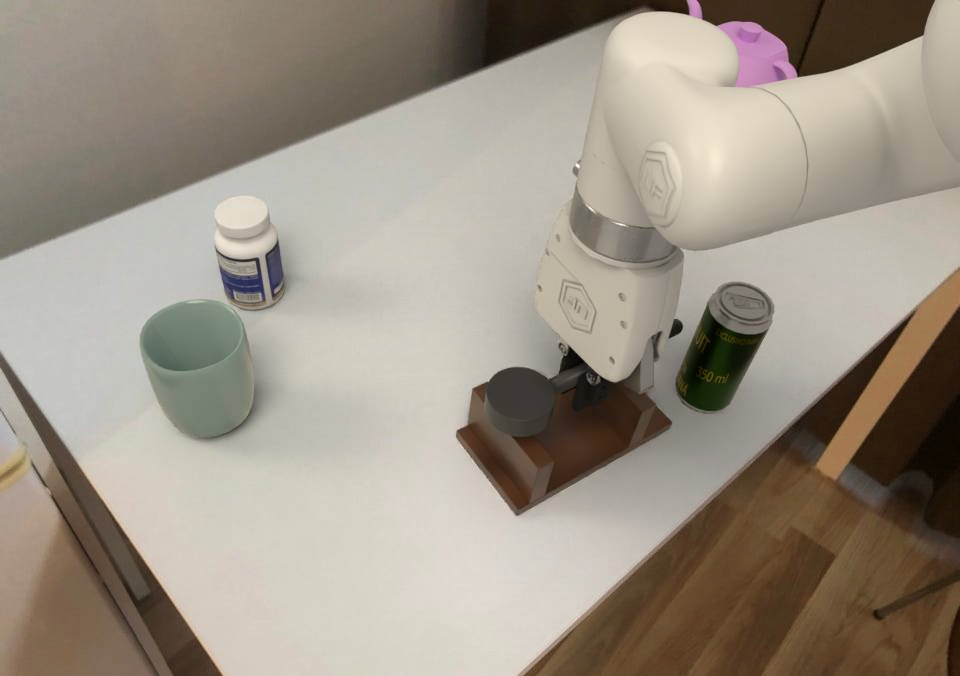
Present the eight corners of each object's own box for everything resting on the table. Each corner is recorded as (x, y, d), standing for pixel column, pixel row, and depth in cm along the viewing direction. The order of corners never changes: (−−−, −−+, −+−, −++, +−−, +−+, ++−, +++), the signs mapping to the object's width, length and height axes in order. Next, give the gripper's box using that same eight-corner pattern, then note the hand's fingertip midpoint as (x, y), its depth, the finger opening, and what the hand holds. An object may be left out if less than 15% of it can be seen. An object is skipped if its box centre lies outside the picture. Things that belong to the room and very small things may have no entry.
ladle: (700, 349, 66) (706, 332, 65) (510, 448, 58) (513, 431, 56) (657, 310, 69) (663, 294, 68) (470, 400, 61) (472, 383, 59)
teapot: (804, 125, 108) (841, 43, 99) (743, 155, 102) (776, 70, 93) (693, 60, 118) (718, -20, 109) (631, 83, 112) (652, 1, 103)
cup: (155, 394, 68) (128, 314, 61) (245, 367, 71) (229, 287, 64) (177, 464, 64) (150, 386, 57) (272, 433, 67) (258, 354, 60)
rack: (670, 428, 71) (689, 386, 67) (516, 516, 64) (526, 475, 59) (605, 362, 76) (619, 318, 71) (455, 437, 68) (460, 393, 64)
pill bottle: (263, 263, 81) (251, 183, 73) (297, 294, 78) (288, 214, 71) (213, 288, 78) (195, 207, 70) (246, 321, 75) (231, 240, 68)
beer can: (726, 374, 76) (771, 283, 67) (734, 419, 72) (782, 329, 64) (670, 367, 76) (708, 275, 67) (675, 412, 72) (716, 321, 63)
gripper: (512, 167, 54) (488, 350, 68) (669, 308, 46) (606, 484, 59) (595, 139, 57) (557, 319, 71) (757, 266, 49) (679, 442, 62)
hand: (580, 393), depth 65 cm, fingers closed on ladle, 1 cm apart
